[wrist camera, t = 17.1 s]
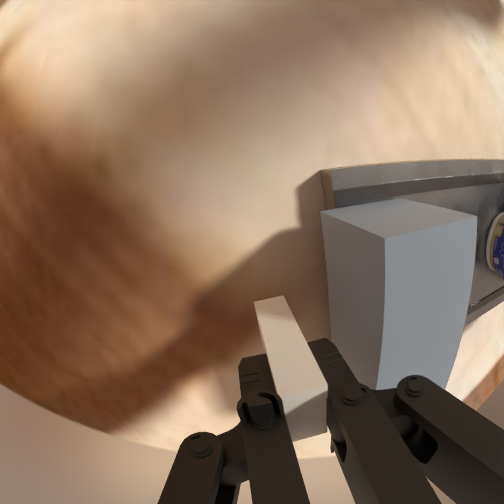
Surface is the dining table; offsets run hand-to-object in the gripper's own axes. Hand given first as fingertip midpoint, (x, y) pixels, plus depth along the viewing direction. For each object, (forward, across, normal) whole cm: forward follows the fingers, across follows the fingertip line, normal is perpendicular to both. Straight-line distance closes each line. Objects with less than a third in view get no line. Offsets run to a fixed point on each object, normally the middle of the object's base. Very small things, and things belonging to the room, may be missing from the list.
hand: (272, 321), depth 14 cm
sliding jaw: (+1, +6, -4) cm, 7 cm away
